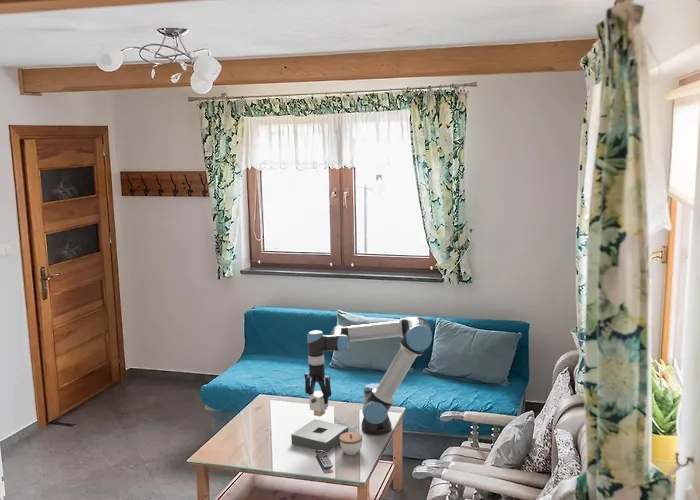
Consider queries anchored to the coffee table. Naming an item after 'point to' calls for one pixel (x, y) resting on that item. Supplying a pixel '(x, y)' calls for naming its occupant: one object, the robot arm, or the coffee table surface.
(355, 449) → the lidded jar
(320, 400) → the plug
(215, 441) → the coffee table surface
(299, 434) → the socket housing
